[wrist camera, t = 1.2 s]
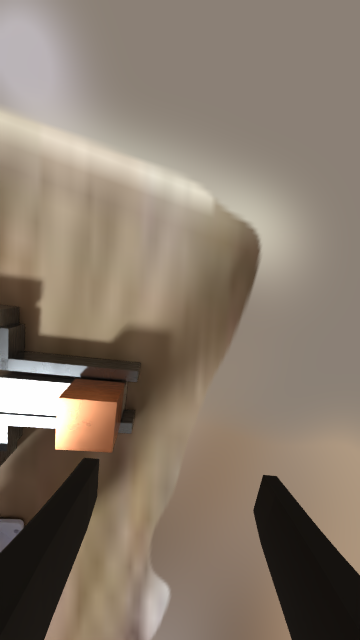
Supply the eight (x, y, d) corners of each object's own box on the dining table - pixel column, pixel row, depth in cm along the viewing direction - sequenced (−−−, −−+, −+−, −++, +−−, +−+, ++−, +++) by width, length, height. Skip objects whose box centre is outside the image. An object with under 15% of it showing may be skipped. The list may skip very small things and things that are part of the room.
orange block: (124, 410, 20) (111, 452, 15) (4, 401, 19) (-53, 443, 14) (128, 372, 20) (116, 402, 15) (5, 360, 19) (-55, 388, 13)
